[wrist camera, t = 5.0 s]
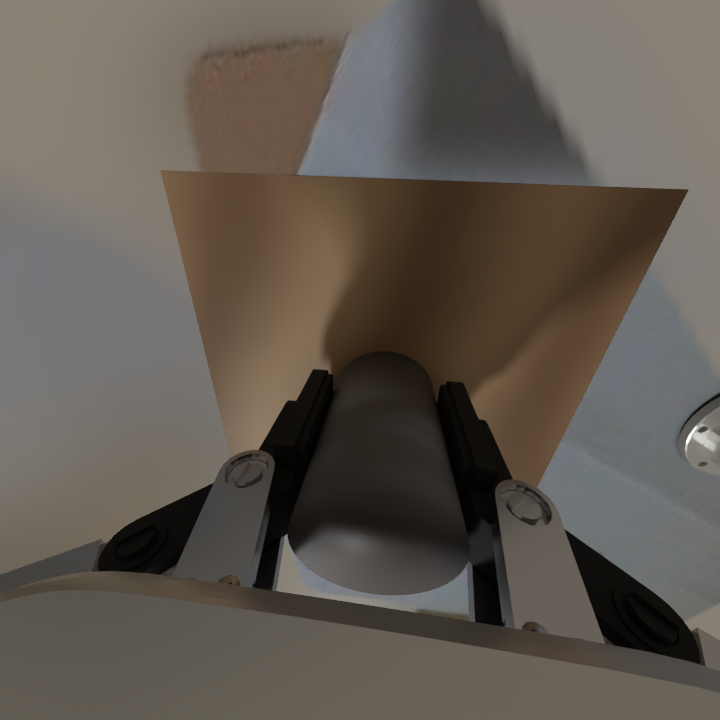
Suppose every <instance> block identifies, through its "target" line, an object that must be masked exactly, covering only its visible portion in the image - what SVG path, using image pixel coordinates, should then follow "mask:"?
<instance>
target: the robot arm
mask: <svg viewBox="0 0 720 720" xmlns="http://www.w3.org/2000/svg"><path fill="white" fill-rule="evenodd" d="M332 396H333V374H329V372H328V370H320V369H313V370H312V372H311V374H310V376H309V378H308V380H307V382H306V383H305V385H304V387H303V389H302V391H301V393H300V395H299V397H298V399H297V400H296V401H293V400H288V401H287V402H286V403H285V405H284V407H283V408H282V410H281V412H280V414H279V415H278V417H277V419H276V421H275V422H274V424H273V426H272V427H271V429H270V431H269V433H268V434H267V436H266V438H265V439H264V441H263V443H262V445H261V446H260V448H259V450H248V451H244V452H241V453H238V454H236V455H235V456H233V457H231V458H230V459H229V460H228V461H227V462H226V463H224V464H223V466H222V467H221V469H220V471H219V473H218V475H217V477H216V479H215V482H214V483H213V484H210V485H208V486H206V487H204V488H202V489H200V490H198V491H196V492H194V493H192V494H190V495H187V496H185V497H184V498H181V499H179V500H177V501H175V502H173V503H171V504H169V505H167V506H164V507H162V508H160V509H158V510H156V511H154V512H152V513H150V514H148V515H146V516H144V517H141V518H139V519H137V520H135V521H134V522H132V523H130V524H129V525H127V526H125V527H124V528H123V529H121V530H120V531H119V532H118V533H117V534H115V535H114V536H113V537H112V539H111V540H110V541H109V542H106V543H104V542H103V541H102V539H100V540H97V541H95V542H92V543H89V544H86V545H83V546H80V547H78V548H75V549H72V550H69V551H66V552H64V553H61V554H58V555H55V556H52V557H50V558H46V559H44V560H41V561H38V562H35V563H32V564H29V565H27V566H24V567H21V568H18V569H15V570H12V571H10V572H7V573H4V574H1V575H0V720H720V641H719V640H718V639H716V638H714V637H713V636H711V635H709V634H708V633H706V632H704V631H703V630H701V629H699V628H696V629H695V630H693V631H692V630H690V629H689V628H688V627H687V625H686V624H685V623H684V621H683V620H682V618H681V617H680V616H679V615H678V614H677V613H676V612H675V611H674V610H673V609H672V608H671V607H670V606H669V605H668V604H667V603H666V602H665V601H663V600H662V599H661V598H660V597H659V596H657V595H656V594H655V593H654V592H652V591H651V590H649V589H648V588H646V587H645V586H644V585H642V584H641V583H639V582H638V581H637V580H635V579H634V578H632V577H631V576H630V575H628V574H627V573H625V572H624V571H623V570H621V569H620V568H618V567H617V566H616V565H614V564H613V563H611V562H610V561H609V560H607V559H606V558H604V557H603V556H601V555H600V554H599V553H597V552H596V551H594V550H593V549H592V548H590V547H589V546H587V545H586V544H585V543H583V542H582V541H580V540H579V539H578V538H576V537H575V536H573V535H572V534H571V533H569V532H568V531H566V530H565V529H564V527H563V524H562V521H561V518H560V516H559V513H558V511H557V509H556V507H555V505H554V504H553V502H552V501H551V500H550V499H549V498H548V497H547V496H546V495H545V494H544V493H543V492H541V491H540V490H539V489H537V488H536V487H534V486H532V485H530V484H528V483H525V482H523V481H519V480H513V478H512V476H511V474H510V472H509V469H508V467H507V465H506V463H505V461H504V458H503V456H502V454H501V452H500V450H499V447H498V445H497V443H496V441H495V439H494V436H493V434H492V432H491V430H490V428H489V425H488V423H487V422H486V421H485V420H482V419H478V416H477V414H476V412H475V409H474V407H473V405H472V402H471V400H470V397H469V395H468V393H467V390H466V388H465V386H464V384H463V383H462V382H452V381H447V382H446V384H445V385H443V384H441V386H440V389H439V394H438V399H437V406H438V411H439V415H440V419H441V423H442V428H443V432H444V436H445V441H446V445H447V449H448V454H449V458H450V462H451V467H452V471H453V475H454V479H455V484H456V488H457V492H458V497H459V501H460V505H461V510H462V514H463V518H464V523H465V527H466V531H467V535H468V540H469V545H470V557H469V560H468V563H467V576H468V602H469V621H465V620H458V619H452V618H446V617H440V616H433V615H427V614H420V613H414V612H408V611H401V610H394V609H388V608H382V607H376V606H369V605H363V604H356V603H350V602H343V601H337V600H330V599H324V598H317V597H311V596H304V595H297V594H291V593H284V592H278V591H276V589H277V583H278V576H279V570H280V563H281V557H282V550H283V544H284V536H285V535H286V534H288V525H289V522H290V519H291V516H292V513H293V510H294V507H295V504H296V501H297V498H298V495H299V492H300V489H301V486H302V484H303V481H304V478H305V475H306V472H307V469H308V466H309V463H310V460H311V457H312V454H313V451H314V448H315V446H316V443H317V440H318V437H319V434H320V431H321V428H322V425H323V422H324V419H325V416H326V413H327V410H328V408H329V405H330V402H331V399H332ZM678 447H679V451H680V453H681V456H682V457H683V458H684V459H685V460H686V461H687V462H688V463H690V464H691V465H692V466H693V467H695V468H696V469H698V470H700V471H702V472H705V473H709V474H713V475H720V397H718V398H716V399H714V400H713V401H711V402H710V403H708V404H707V405H705V406H704V407H702V408H701V409H700V410H699V411H698V412H697V413H695V414H694V415H693V416H692V417H691V418H690V420H689V421H688V422H687V423H686V424H685V426H684V428H683V430H682V431H681V433H680V437H679V441H678Z"/></svg>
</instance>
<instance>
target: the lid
mask: <svg viewBox="0 0 720 720" xmlns="http://www.w3.org/2000/svg"><path fill="white" fill-rule="evenodd" d="M161 174H162V178H163V182H164V186H165V190H166V194H167V198H168V202H169V206H170V210H171V214H172V219H173V223H174V227H175V231H176V235H177V239H178V243H179V247H180V251H181V255H182V260H183V264H184V268H185V272H186V276H187V280H188V284H189V288H190V292H191V296H192V300H193V304H194V309H195V313H196V317H197V320H198V325H199V329H200V333H201V337H202V341H203V345H204V349H205V353H206V358H207V362H208V365H209V369H210V374H211V378H212V382H213V386H214V390H215V394H216V398H217V402H218V406H219V411H220V415H221V419H222V423H223V427H224V431H225V435H226V439H227V443H228V447H229V451H230V456H231V457H233V456H235V455H236V454H238V453H241V452H244V451H248V450H259V448H260V446H261V445H262V443H263V441H264V439H265V438H266V436H267V434H268V433H269V431H270V429H271V427H272V426H273V424H274V422H275V421H276V419H277V417H278V415H279V414H280V412H281V410H282V408H283V407H284V405H285V403H286V402H287V401H288V400H293V401H296V400H297V399H298V397H299V395H300V393H301V391H302V389H303V387H304V385H305V383H306V382H307V380H308V378H309V376H310V374H311V372H312V370H313V369H320V370H328V372H329V374H333V396H332V399H331V402H330V405H329V408H328V410H327V413H326V416H325V419H324V422H323V425H322V428H321V431H320V434H319V437H318V440H317V443H316V446H315V448H314V451H313V454H312V457H311V460H310V463H309V466H308V469H307V472H306V475H305V478H304V481H303V484H302V486H301V489H300V492H299V495H298V498H297V501H296V504H295V507H294V510H293V513H292V516H291V519H290V522H289V525H288V540H289V544H290V546H291V548H292V550H293V552H294V553H295V555H296V556H297V558H298V559H299V560H300V561H301V562H302V563H303V564H304V565H305V566H306V567H307V568H309V569H310V570H311V571H313V572H314V573H315V574H317V575H319V576H320V577H322V578H324V579H326V580H328V581H330V582H332V583H335V584H337V585H340V586H342V587H346V588H349V589H352V590H356V591H360V592H365V593H371V594H379V595H408V594H416V593H421V592H426V591H430V590H433V589H436V588H438V587H441V586H443V585H445V584H447V583H448V582H450V581H452V580H453V579H455V578H456V577H457V576H458V575H459V574H460V573H461V572H462V571H463V570H464V568H465V567H466V565H467V563H468V560H469V557H470V545H469V540H468V535H467V531H466V527H465V523H464V518H463V514H462V510H461V505H460V501H459V497H458V492H457V488H456V484H455V479H454V475H453V471H452V467H451V462H450V458H449V454H448V449H447V445H446V441H445V436H444V432H443V428H442V423H441V419H440V415H439V411H438V406H437V399H438V394H439V389H440V386H441V384H443V385H445V384H446V382H447V381H452V382H462V383H463V384H464V386H465V388H466V390H467V393H468V395H469V397H470V400H471V402H472V405H473V407H474V409H475V412H476V414H477V416H478V419H482V420H485V421H486V422H487V423H488V425H489V428H490V430H491V432H492V434H493V436H494V439H495V441H496V443H497V445H498V447H499V450H500V452H501V454H502V456H503V458H504V461H505V463H506V465H507V467H508V469H509V472H510V474H511V476H512V478H513V480H519V481H523V482H525V483H528V484H530V485H532V486H534V487H536V488H537V486H538V484H539V482H540V480H541V478H542V476H543V474H544V472H545V470H546V469H547V467H548V465H549V463H550V461H551V459H552V457H553V455H554V453H555V451H556V449H557V447H558V445H559V443H560V441H561V439H562V437H563V435H564V433H565V431H566V429H567V427H568V425H569V423H570V421H571V419H572V417H573V415H574V414H575V412H576V410H577V408H578V406H579V404H580V402H581V400H582V398H583V396H584V394H585V392H586V390H587V388H588V386H589V384H590V382H591V380H592V378H593V376H594V374H595V372H596V370H597V368H598V366H599V364H600V362H601V360H602V359H603V357H604V355H605V353H606V351H607V349H608V347H609V345H610V343H611V341H612V339H613V337H614V335H615V333H616V331H617V329H618V327H619V325H620V323H621V321H622V319H623V317H624V315H625V313H626V311H627V309H628V307H629V305H630V304H631V302H632V300H633V298H634V296H635V294H636V292H637V290H638V288H639V286H640V284H641V282H642V280H643V278H644V276H645V274H646V272H647V270H648V268H649V266H650V264H651V262H652V260H653V258H654V256H655V254H656V252H657V250H658V249H659V246H660V244H661V242H662V241H663V239H664V237H665V235H666V233H667V231H668V229H669V227H670V225H671V223H672V221H673V219H674V217H675V215H676V213H677V211H678V209H679V207H680V205H681V203H682V201H683V199H684V197H685V196H686V193H687V192H688V190H682V189H654V188H653V189H652V188H627V187H600V186H573V185H546V184H519V183H492V182H464V181H437V180H410V179H383V178H355V177H328V176H301V175H274V174H246V173H219V172H192V171H165V170H162V171H161Z"/></svg>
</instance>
